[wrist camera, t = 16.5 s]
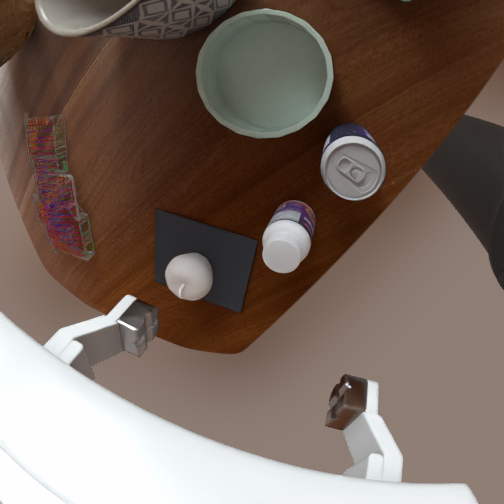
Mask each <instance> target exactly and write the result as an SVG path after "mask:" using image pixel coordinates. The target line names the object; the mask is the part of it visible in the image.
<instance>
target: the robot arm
mask: <svg viewBox="0 0 504 504" xmlns="http://www.w3.org/2000/svg"><path fill="white" fill-rule="evenodd" d="M158 314H159V310H158V308H156V307H154V306H152V305H150V304H148V303H146V302H144V301H142V300H140V299H137V298H135V297H133V296H131V295H126V296H125V297H124V298H123V299H122V300H121V301H120V302H119V303H118V304H117V305H116V306H115V307H114V308H113V310H112V311H111V312H110V313H109V314H108V315H107V316H104V315H103V316H100V317H96V318H93V319H90V320H87V321H84V322H81V323H77V324H75V325H71V326H68V327H65V328H61V329H59V330H58V331H57V332H56V334H55V335H54V336H53V337H52V338H51V339H50V340H49V341H48V342H47V343H46V344H45V345H44V346H42V345H41V344H39V343H38V342H37V341H35V340H34V339H33V338H32V337H30V336H29V335H28V334H27V333H25V332H24V331H23V330H22V329H20V328H19V327H18V326H17V325H16V324H14V323H13V322H12V321H11V320H10V319H9V318H7V317H6V316H5V315H4V314H3V313H2V312H1V311H0V504H478V502H477V500H476V498H475V496H474V494H473V493H472V491H471V490H470V488H469V487H468V485H466V484H464V483H445V484H443V483H442V484H441V483H440V484H434V483H433V484H432V483H428V484H427V483H404V482H401V477H402V464H403V463H402V462H403V456H402V454H401V452H400V450H399V449H398V447H397V445H396V443H395V441H394V439H393V437H392V435H391V434H390V432H389V430H388V428H387V426H386V425H385V423H384V421H383V419H382V417H381V416H380V415H378V391H379V384H378V383H377V382H374V381H370V380H366V379H362V378H358V377H355V376H350V375H347V374H345V375H343V376H342V378H341V381H340V383H339V384H337V385H336V386H335V387H334V389H333V391H332V393H331V396H330V400H329V406H330V407H331V409H330V410H329V411H328V412H327V417H326V422H325V426H328V427H331V428H335V429H339V430H343V434H344V437H345V439H346V442H347V445H348V448H349V451H350V453H351V456H352V459H353V461H354V466H352V467H351V468H349V469H347V470H345V471H344V472H343V473H342V475H336V474H331V473H326V472H321V471H316V470H311V469H307V468H302V467H298V466H294V465H290V464H286V463H282V462H279V461H275V460H271V459H268V458H265V457H261V456H258V455H255V454H251V453H248V452H245V451H242V450H239V449H236V448H233V447H230V446H228V445H225V444H222V443H219V442H217V441H214V440H212V439H209V438H206V437H204V436H201V435H199V434H196V433H194V432H192V431H189V430H187V429H185V428H182V427H180V426H178V425H176V424H173V423H171V422H169V421H167V420H165V419H163V418H160V417H158V416H156V415H154V414H152V413H150V412H148V411H146V410H144V409H142V408H140V407H138V406H136V405H135V404H133V403H131V402H129V401H127V400H125V399H123V398H122V397H120V396H118V395H116V394H115V393H113V392H111V391H109V390H108V389H106V388H104V387H103V386H101V385H99V384H98V383H96V382H94V381H93V380H94V378H95V377H94V373H93V371H92V368H91V366H93V365H95V364H97V363H99V362H101V361H104V360H105V359H108V358H110V357H112V356H114V355H116V354H118V353H120V352H122V351H124V350H125V351H127V352H129V353H131V354H133V355H135V356H137V357H141V355H142V354H143V353H144V351H145V349H146V348H147V342H149V341H151V340H153V339H154V337H155V336H156V334H157V331H158V329H159V320H158V319H157V316H158Z"/></svg>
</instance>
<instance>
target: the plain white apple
mask: <svg viewBox="0 0 504 504" xmlns="http://www.w3.org/2000/svg"><path fill="white" fill-rule="evenodd" d="M165 278H166V282H167V285H168V288H169V289H170V290H171V291H172V292H173V293H174V294H175V295H176V296H178V297H179V298H182V299H186V300H192V301H194V300H198V299H201V298H202V297H204V296H205V295H206V294H207V293H208V292H209V291H210V289H211V286H212V282H213V274H212V267H211V265H210V263H209V261H208V260H207V258H205V257H204V256H202V255H200V254H198V253H188V254H183V255H179V256H177V257H175V258H173V259H172V260H171V261H170V263H169V264H168V266H167V268H166V271H165Z"/></svg>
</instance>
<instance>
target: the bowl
mask: <svg viewBox="0 0 504 504" xmlns="http://www.w3.org/2000/svg"><path fill="white" fill-rule="evenodd" d="M37 18H38V15H37V12H36V8H35V2H34V1H33V0H0V67H1V66H2V65H4V64H5V63H6V62H7V61H9V60H10V59H11V58H12V56H13V55H14V54H15V53H16V52H17V51H18V50H19V49H20V48H21V47H22V46H23V45H24V44H25V43H26V42H27V40H28V39H29V37H30V35H31V33H32V31H33V29H34V28H35V25H36V22H37Z"/></svg>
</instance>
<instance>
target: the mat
mask: <svg viewBox="0 0 504 504" xmlns="http://www.w3.org/2000/svg"><path fill="white" fill-rule="evenodd" d="M257 244H258V241H257V240H254V239H251V238H248V237H245V236H242V235H239V234H235V233H232V232H229V231H226V230H223V229H220V228H216V227H213V226H210V225H207V224H204V223H201V222H197V221H194V220H191V219H188V218H185V217H181V216H178V215H175V214H172V213H168V212H165V211H162V210H159V209H157V210H156V224H155V281H156V282H159V283H161V284H164V285H166V286H168V285H167V282H166V278H165V271H166V268H167V266H168V264H169V263H170V261H171V260H172V259H173V258H175V257H177V256H179V255H183V254H188V253H198V254H200V255H202V256H204V257H205V258H207V260H208V261H209V263H210V265H211V267H212V274H213V282H212V286H211V289H210V291H209V292H208V293H207V294H206V295H205V296H204V297H202V298H201V299H203V300H205V301H208V302H211V303H214V304H216V305H219V306H222V307H225V308H228V309H230V310H233V311H236V312H239V313H240V312H241V309H242V305H243V301H244V297H245V293H246V289H247V285H248V281H249V277H250V272H251V268H252V264H253V260H254V256H255V252H256V248H257Z"/></svg>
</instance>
